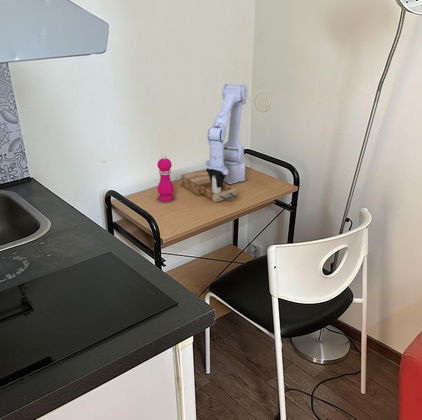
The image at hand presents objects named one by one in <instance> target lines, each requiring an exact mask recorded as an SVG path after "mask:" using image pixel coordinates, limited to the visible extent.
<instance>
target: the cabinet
mask: <svg viewBox="0 0 422 420" xmlns="http://www.w3.org/2000/svg"><path fill="white" fill-rule="evenodd" d="M209 183H211V181H210V177H209V174H208V172H207V171H206V168H205V169H199V170H196V171H191V172H187V173H182V174H181V185H182V187H185V188H186V189H188V190H189V191H191V192H192V193H194V194H196V195H197V196H200V195H204V194H203V193H201V192H200V186H201V185H205V184H209Z"/></svg>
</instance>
